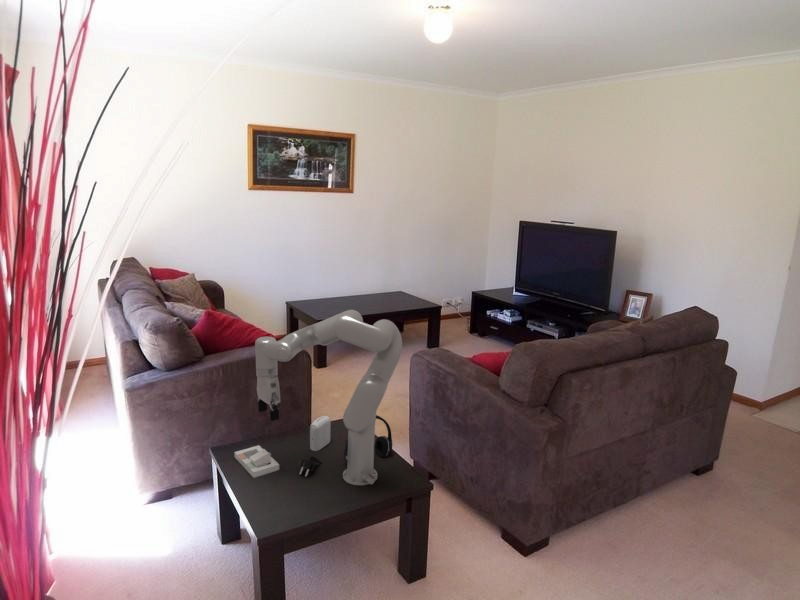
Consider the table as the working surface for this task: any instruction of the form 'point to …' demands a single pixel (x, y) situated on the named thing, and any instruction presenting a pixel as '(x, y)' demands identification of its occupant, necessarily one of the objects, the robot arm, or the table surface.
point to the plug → (261, 458)
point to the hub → (245, 461)
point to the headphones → (378, 443)
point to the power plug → (308, 463)
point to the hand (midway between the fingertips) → (268, 415)
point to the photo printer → (319, 433)
